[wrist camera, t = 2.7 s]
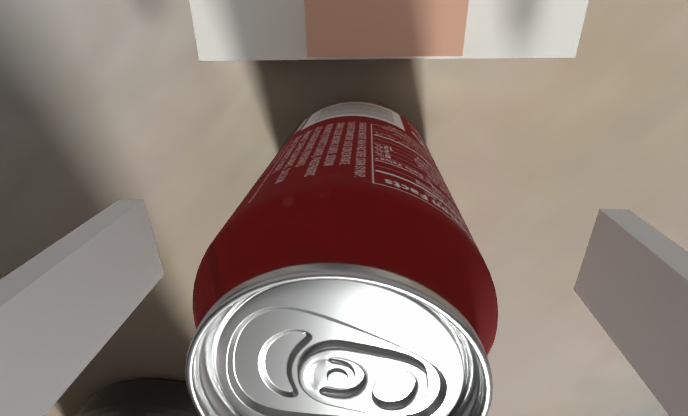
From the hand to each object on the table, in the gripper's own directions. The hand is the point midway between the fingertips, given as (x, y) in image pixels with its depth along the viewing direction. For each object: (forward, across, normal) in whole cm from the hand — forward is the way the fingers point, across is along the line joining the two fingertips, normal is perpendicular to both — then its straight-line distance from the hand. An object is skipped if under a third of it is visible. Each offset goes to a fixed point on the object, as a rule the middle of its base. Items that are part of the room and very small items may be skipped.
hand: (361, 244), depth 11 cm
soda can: (+7, 0, 0) cm, 7 cm away
